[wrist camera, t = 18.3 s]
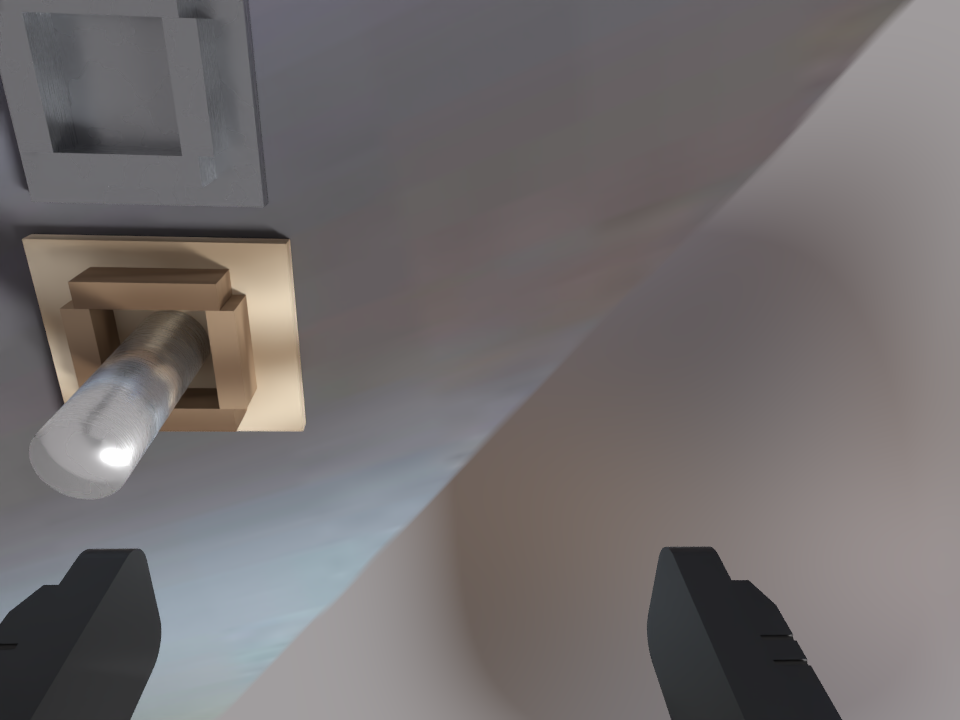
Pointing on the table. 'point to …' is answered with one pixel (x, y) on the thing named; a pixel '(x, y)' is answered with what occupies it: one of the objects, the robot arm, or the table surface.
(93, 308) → the tan square frame base
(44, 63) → the socket block
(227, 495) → the table surface
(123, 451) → the brushed steel cylinder
